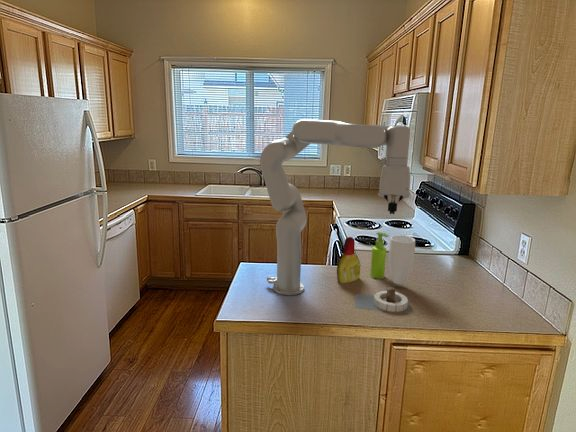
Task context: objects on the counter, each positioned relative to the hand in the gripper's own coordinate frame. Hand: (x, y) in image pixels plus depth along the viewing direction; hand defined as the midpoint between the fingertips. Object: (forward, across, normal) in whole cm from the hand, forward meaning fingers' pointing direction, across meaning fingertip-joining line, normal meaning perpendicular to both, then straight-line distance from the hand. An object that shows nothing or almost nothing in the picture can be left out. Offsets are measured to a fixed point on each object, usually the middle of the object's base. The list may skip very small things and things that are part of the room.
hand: (391, 213), depth 144 cm
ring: (+34, +2, -3) cm, 34 cm away
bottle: (+35, -15, +16) cm, 42 cm away
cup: (+35, +6, +14) cm, 38 cm away
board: (+35, -1, -3) cm, 35 cm away
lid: (+34, +2, -3) cm, 34 cm away
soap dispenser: (+35, -2, +25) cm, 43 cm away
